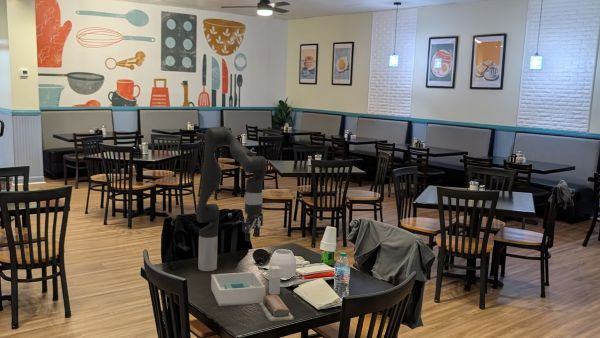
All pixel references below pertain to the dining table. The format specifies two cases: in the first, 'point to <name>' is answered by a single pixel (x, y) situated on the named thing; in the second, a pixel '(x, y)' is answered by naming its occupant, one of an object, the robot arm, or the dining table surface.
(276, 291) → the grey upright block
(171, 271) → the dining table surface
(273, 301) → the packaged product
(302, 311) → the dining table surface
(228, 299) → the walled box
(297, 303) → the dining table surface
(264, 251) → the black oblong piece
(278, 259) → the white round vase
